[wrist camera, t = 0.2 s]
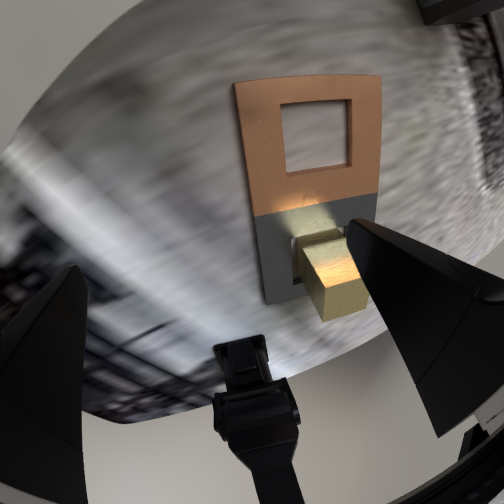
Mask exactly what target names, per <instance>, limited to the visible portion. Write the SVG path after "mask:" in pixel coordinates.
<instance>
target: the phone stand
mask: <svg viewBox="0 0 504 504" xmlns="http://www.w3.org/2000/svg"><path fill="white" fill-rule="evenodd" d="M416 2H417V4H418V7H419V10H420V13H421V15H422V18H423V21H424V24H425V25H427V26H429V25H439V24H451V23H463V22H465V21H468V20H470V19H473V18H475V17H478V16H481V15H483V14H486V13H489V12H492V11H494V10H497V9H500V8H503V7H504V0H416Z"/></svg>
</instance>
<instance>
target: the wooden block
mask: <svg viewBox="0 0 504 504" xmlns="http://www.w3.org/2000/svg"><path fill="white" fill-rule="evenodd" d="M296 242H297V269H298V274H299V276H300V278H301V280H302V282H303V284H304V286H305V288H306V290H307V292H308V294H309V296H310V298H311V300H312V302H313V304H314V306H315V308H316V310H317V312H318V314H319V316H320V318H321V320H322V322H326V321H329V320H332V319H336V318H339V317H342V316H345V315H348V314H351V313H354V312H357V311H360V310H363V309H366V306H367V301H368V297H369V292H368V290H367V289H366V287H365V285H364V283H363V281H362V279H361V277H360V274H359V272H358V270H357V268H356V265H355V263H354V261H353V259H352V256H351V254H350V252H349V250H348V247H347V244H346V238H345V237H344V236H343V234H342V233H341V232H340V231H339V230H338V229H334V230H330V231H326V232H322V233H317V234H313V235H309V236H304V237H300V238H296Z"/></svg>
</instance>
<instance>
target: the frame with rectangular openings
mask: <svg viewBox="0 0 504 504" xmlns="http://www.w3.org/2000/svg"><path fill="white" fill-rule="evenodd" d="M233 85H234V92H235V98H236V105H237V111H238V118H239V124H240V131H241V138H242V144H243V151H244V158H245V165H246V171H247V178H248V185H249V192H250V199H251V205H252V212H253V219H254V226H255V233H256V240H257V247H258V254H259V261H260V268H261V275H262V282H263V289H264V296H265V301H266V304H267V305H270V304H274V303H278V302H282V301H286V300H289V299H293V298H297V297H301V296H304V295H308V292H307V290H306V288H305V286H304V284H303V282H302V280H301V278H298V279H294V280H293V271H292V251H291V238H294V237H298V236H303V235H307V234H311V233H316V232H320V231H324V230H329V229H333V228H337V227H342V226H345V236H344V237H345V238H347V231H348V224H349V221H350V220H351V219H355V218H363V219H366V220H368V221H371V222H373V223H374V221H375V213H376V204H377V194H378V183H379V170H380V154H381V128H382V87H381V76H376V75H303V76H288V77H276V78H266V79H258V80H250V81H242V82H236V83H233ZM334 99H347V116H348V164H340V165H334V166H327V167H320V168H314V169H308V170H302V171H296V172H290V173H286V164H285V152H284V141H283V130H282V120H281V111H280V104H284V103H294V102H304V101H317V100H334Z"/></svg>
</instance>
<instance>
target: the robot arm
mask: <svg viewBox="0 0 504 504" xmlns="http://www.w3.org/2000/svg"><path fill="white" fill-rule="evenodd" d="M346 244H347V247H348V250H349V252H350V254H351V256H352V259H353V261H354V263H355V265H356V268H357V270H358V272H359V274H360V277H361V279H362V281H363V283H364V285H365V287H366V289H367V290H368V292H369V294H370V296H371V298H372V299H373V301H374V303H375V305H376V307H377V309H378V310H379V312H380V314H381V316H382V318H383V320H384V322H385V324H386V326H387V327H388V329H389V331H390V333H391V335H392V337H393V339H394V341H395V343H396V345H397V347H398V349H399V351H400V353H401V355H402V357H403V359H404V362H405V364H406V366H407V368H408V370H409V372H410V374H411V376H412V379H413V381H414V383H415V384H416V388H417V390H418V392H419V395H420V397H421V399H422V402H423V404H424V406H425V409H426V410H427V413H428V416H429V418H430V421H431V423H432V425H433V428H434V430H435V433H436V435H437V437H438V438H440V437H441V436H443V435H444V434H446V433H447V432H449V431H450V430H452V429H453V428H455V427H456V426H458V425H459V424H460V423H462V422H463V421H465V420H466V419H467V418H469V417H470V416H472V415H473V414H474V415H475V417H476V419H477V420H478V423H477V424H476V425H475V426H473V427H472V428H471V429H470V430H468V431H467V432H465V434H464V438H463V442H462V446H461V450H460V454H459V458H458V461H457V462H456V463H455V464H453V465H452V466H451V467H449V468H447V469H446V470H445V471H443V472H442V473H440V474H438V475H437V476H435V477H434V478H432V479H431V480H429V481H427V482H426V483H424V484H423V485H421V486H419V487H418V488H416V489H414V490H412V491H410V492H409V493H407V494H405V495H403V496H401V497H400V498H398V499H396V500H394V501H392V502H390V503H388V504H504V279H502V278H500V277H497V276H495V275H493V274H490V273H488V272H486V271H483V270H481V269H479V268H477V267H474V266H472V265H470V264H467V263H465V262H463V261H461V260H459V259H457V258H454V257H452V256H450V255H448V254H447V255H446V254H445V253H444V252H441V251H439V250H437V249H435V248H433V247H430V246H428V245H426V244H424V243H421V242H419V241H417V240H414V239H412V238H410V237H407V236H405V235H403V234H400V233H398V232H396V231H393V230H391V229H388V228H386V227H383V226H381V225H378V224H376V223H373V222H371V221H368V220H366V219H363V218H355V219H351V220H350V221H349V224H348V231H347V238H346ZM87 308H88V285H87V282H86V280H85V278H84V276H83V274H82V272H81V270H80V268H79V267H78V266H77V265H70V266H66V267H65V268H64V269H63V270H62V271H61V272H59V273H58V274H57V275H56V276H55V277H54V278H53V279H52V280H51V281H50V282H49V283H48V284H47V285H46V286H45V287H44V288H43V289H42V290H40V291H39V292H38V293H37V294H36V295H35V296H34V297H33V298H32V299H31V300H30V301H29V302H28V303H27V304H26V306H25V307H24V308H23V309H22V310H21V311H20V312H19V313H18V314H17V315H16V316H15V317H14V318H13V319H12V320H11V321H10V322H9V324H8V325H7V326H6V327H5V328H4V329H3V330H2V332H0V504H88V499H87V493H86V483H85V473H84V462H83V451H82V380H83V364H84V352H85V342H86V332H87ZM213 350H214V353H215V355H216V357H217V360H218V362H219V364H220V366H221V369H222V371H223V373H224V378H225V383H226V388H227V392H222V393H219V392H218V393H214V396H215V398H214V399H213V400H212V404H213V410H214V430H215V431H216V432H218V433H219V434H220V436H221V437H222V439H223V441H224V442H225V441H228V446H229V448H230V450H231V451H232V452H233V453H234V455H235V456H236V457H237V458H238V459H239V460H240V461H241V462H242V463H243V464H244V465H245V466H246V467H247V468H248V469H249V470H250V471H251V472H252V476H253V480H254V484H255V488H256V492H257V495H258V499H259V502H260V504H305V503H304V500H303V496H302V493H301V490H300V487H299V484H298V481H297V478H296V474H295V471H294V468H293V465H292V460H293V456H294V453H295V450H296V446H297V442H298V434H299V431H298V427H297V425H299V424H301V421H300V415H299V411H298V407H297V404H296V401H295V399H294V397H293V394H292V392H291V389H290V387H289V385H288V382H287V380H286V377H284V378H281V379H279V380H275V381H273V379H272V376H271V373H270V369H269V366H268V363H267V362H268V361H269V360H268V354H267V347H266V341H265V337H264V335H257V336H253V337H249V338H245V339H241V340H237V341H232V342H228V343H224V344H219V345H215V346H214V347H213Z"/></svg>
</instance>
